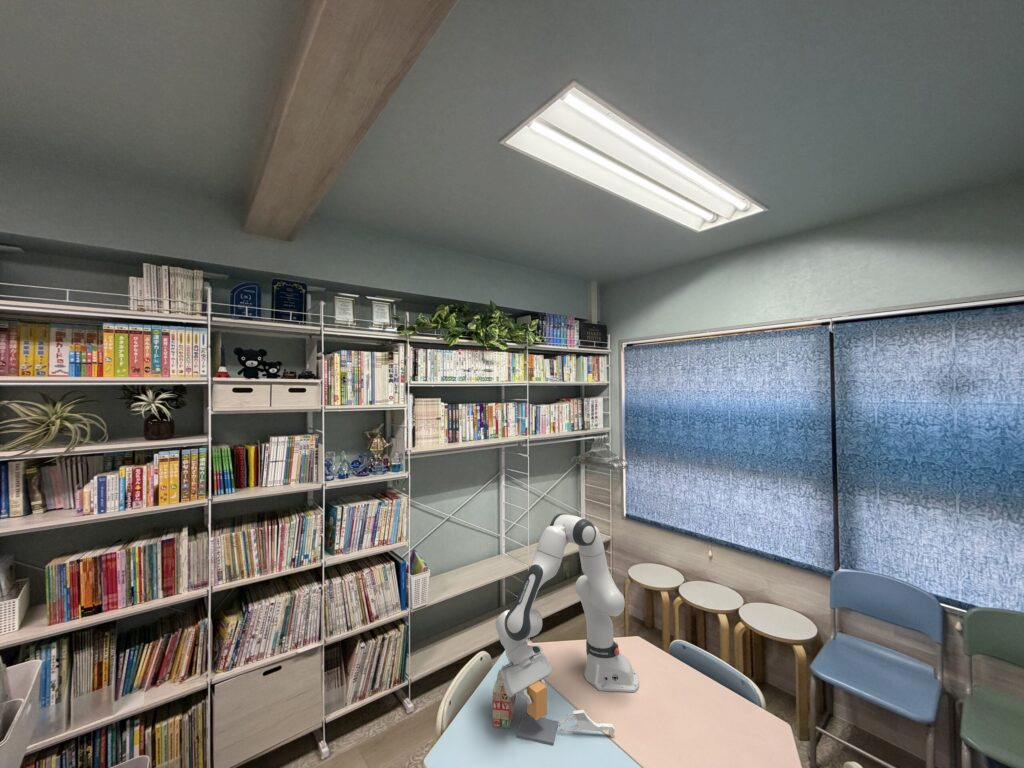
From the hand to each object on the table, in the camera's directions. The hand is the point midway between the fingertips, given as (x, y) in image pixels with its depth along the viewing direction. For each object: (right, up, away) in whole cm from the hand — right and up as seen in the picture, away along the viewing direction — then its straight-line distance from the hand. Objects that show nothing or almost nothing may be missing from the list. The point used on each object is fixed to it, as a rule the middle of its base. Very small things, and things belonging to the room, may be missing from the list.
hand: (538, 699), depth 140 cm
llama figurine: (+17, -11, -2) cm, 20 cm away
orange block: (0, -5, 0) cm, 5 cm away
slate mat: (0, -11, 0) cm, 10 cm away
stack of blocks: (-12, -12, +11) cm, 20 cm away
